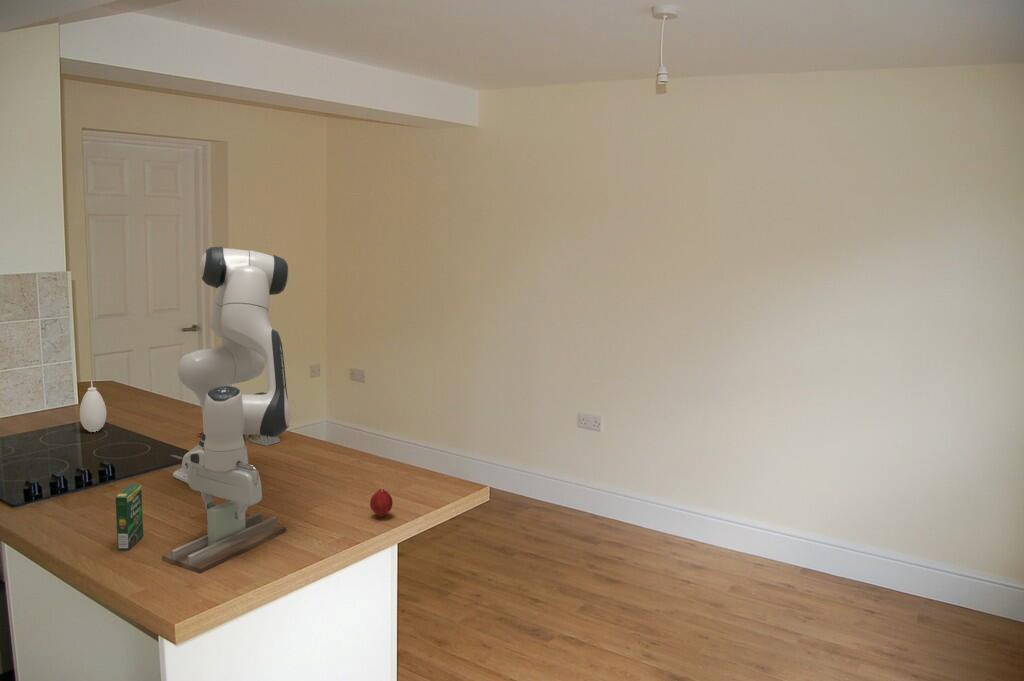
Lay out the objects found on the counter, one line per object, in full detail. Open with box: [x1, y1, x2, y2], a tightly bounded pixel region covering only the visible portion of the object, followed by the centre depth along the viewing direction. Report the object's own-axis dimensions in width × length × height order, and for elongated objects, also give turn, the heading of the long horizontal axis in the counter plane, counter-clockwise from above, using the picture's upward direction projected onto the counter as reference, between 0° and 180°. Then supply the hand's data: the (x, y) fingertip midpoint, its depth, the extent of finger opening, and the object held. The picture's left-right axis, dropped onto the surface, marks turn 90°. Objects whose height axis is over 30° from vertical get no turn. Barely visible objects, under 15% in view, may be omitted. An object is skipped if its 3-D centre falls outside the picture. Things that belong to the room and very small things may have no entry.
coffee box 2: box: [115, 483, 144, 551], centre depth 175 cm, size 8×3×13 cm, turn 3°
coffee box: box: [248, 391, 281, 447], centre depth 255 cm, size 9×6×16 cm
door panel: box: [206, 500, 246, 546], centre depth 177 cm, size 2×9×9 cm, turn 154°
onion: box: [369, 487, 393, 518], centre depth 197 cm, size 6×6×8 cm
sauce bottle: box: [79, 379, 107, 433], centre depth 257 cm, size 8×8×18 cm
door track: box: [161, 511, 287, 574], centre depth 177 cm, size 12×26×3 cm, turn 154°
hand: (225, 514), depth 176 cm, fingers open, 8 cm apart
